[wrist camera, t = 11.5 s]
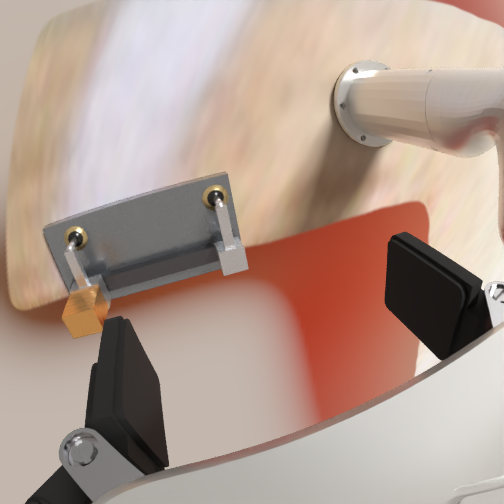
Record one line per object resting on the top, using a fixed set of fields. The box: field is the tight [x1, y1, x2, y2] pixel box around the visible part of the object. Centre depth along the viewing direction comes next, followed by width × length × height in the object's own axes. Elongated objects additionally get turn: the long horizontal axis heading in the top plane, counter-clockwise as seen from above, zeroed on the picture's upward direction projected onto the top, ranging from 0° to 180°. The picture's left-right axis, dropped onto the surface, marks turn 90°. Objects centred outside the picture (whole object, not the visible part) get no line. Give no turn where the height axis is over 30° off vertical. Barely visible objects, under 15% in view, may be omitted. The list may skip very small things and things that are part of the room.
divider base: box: [43, 172, 248, 299], centre depth 37 cm, size 24×12×6 cm, turn 100°
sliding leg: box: [62, 237, 111, 338], centre depth 33 cm, size 4×9×8 cm, turn 10°
